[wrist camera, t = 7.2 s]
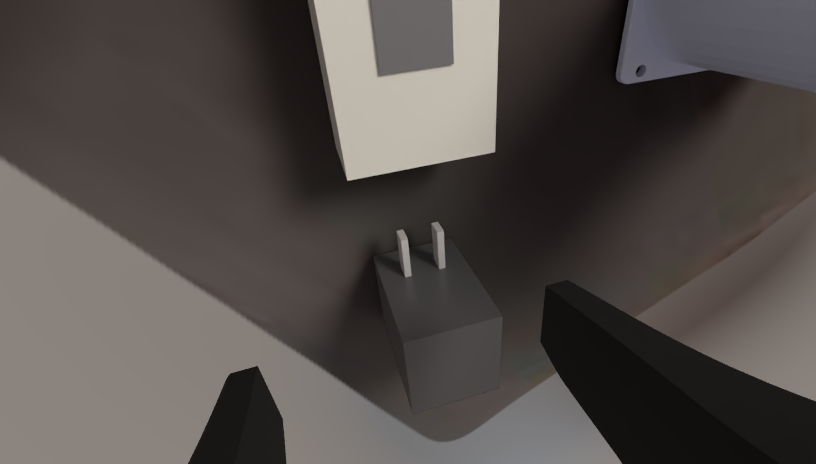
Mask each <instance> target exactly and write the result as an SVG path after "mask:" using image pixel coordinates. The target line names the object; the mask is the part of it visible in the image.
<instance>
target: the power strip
mask: <svg viewBox="0 0 816 464" xmlns="http://www.w3.org/2000/svg"><path fill="white" fill-rule="evenodd" d="M308 5H309V10H310V16H311V21H312V26H313V31H314V36H315V41H316V47H317V52H318V57H319V62H320V67H321V73H322V78H323V83H324V88H325V93H326V98H327V104H328V109H329V114H330V119H331V124H332V130H333V135H334V140H335V145H336V149H337V152H338V155H339V158H340V161H341V164H342V167H343V169H344V172H345V175H346V178H347V181H350V180H355V179H360V178H365V177H370V176H375V175H380V174H386V173H391V172H396V171H401V170H406V169H411V168H416V167H422V166H427V165H432V164H437V163H442V162H447V161H452V160H458V159H463V158H468V157H473V156H478V155H483V154H488V153H493V152H495V137H496V102H497V67H498V31H499V0H308Z"/></svg>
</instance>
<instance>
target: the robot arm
mask: <svg viewBox="0 0 816 464" xmlns="http://www.w3.org/2000/svg"><path fill="white" fill-rule="evenodd" d="M639 66H640V69H639V72H638V73H637V74H636V70H637V68H638V67H639ZM706 70H713V71H718V72H723V73H727V74H732V75H736V76H741V77H746V78H750V79H755V80H760V81H764V82H769V83H774V84H778V85H783V86H788V87H792V88H797V89H802V90H806V91H811V92H816V0H629V2H628V8H627V13H626V19H625V25H624V30H623V36H622V42H621V47H620V53H619V58H618V64H617V70H616V79H617V81H619V82H620V83H623V84H632V83H637V82H643V81H649V80H655V79H660V78H666V77H672V76H677V75H683V74H689V73H695V72H700V71H706ZM540 342H541V343H542V345H543V347H544V349H545V351H546V353H547V355H548V357H549V358H550V360H551V362H552V364H553V366H554V367H555V369H556V371H557V372H558V374H559V376H560V378H561V379H562V380H563V382H564V383H565V385H566V386H567V387H568V389H569V390H570V392H571V393H572V394H573V396H574V397H575V399H576V400H577V401H578V403H579V404H580V406H581V407H582V408H583V410H584V411H585V413H586V414H587V415H588V417H589V418H590V419H591V421H592V422H593V424H594V425H595V426H596V428H597V429H598V430H599V432H600V433H601V435H602V436H603V437H604V439H605V440H606V441H607V443H608V444H609V445H610V447H611V448H612V449H613V451H614V452H615V454H616V455H617V456H618V458H619V459H620V461H621V462H622V464H816V401H813V400H810V399H808V398H805V397H802V396H800V395H797V394H794V393H792V392H789V391H787V390H784V389H782V388H779V387H777V386H774V385H772V384H769V383H767V382H765V381H762V380H760V379H758V378H755V377H753V376H750V375H748V374H746V373H744V372H741V371H739V370H737V369H734V368H732V367H730V366H728V365H725V364H723V363H721V362H719V361H717V360H715V359H713V358H710V357H708V356H706V355H704V354H702V353H700V352H698V351H696V350H694V349H692V348H690V347H688V346H686V345H684V344H682V343H680V342H678V341H676V340H674V339H672V338H670V337H669V336H666V335H665V334H663V333H661V332H659V331H657V330H655V329H653V328H652V327H650V326H648V325H646V324H644V323H642V322H641V321H639V320H637V319H635V318H633V317H632V316H630V315H628V314H626V313H625V312H623V311H621V310H619V309H618V308H616V307H614V306H612V305H611V304H609V303H607V302H605V301H604V300H602V299H600V298H598V297H597V296H595V295H593V294H592V293H590V292H588V291H586V290H585V289H583V288H581V287H579V286H577V285H576V284H574V283H572V282H570V281H568V280H566V281H562V282H558V283H555V284H551V285H548V286H546V289H545V299H544V309H543V320H542V330H541V340H540ZM188 464H286V454H285V440H284V430H283V419H282V417H281V414H280V412H279V410H278V408H277V406H276V404H275V402H274V400H273V397H272V396H271V393H270V391H269V389H268V387H267V385H266V383H265V381H264V379H263V376H262V374H261V372H260V370H259V368H258V366H256V367H252V368H249V369H245V370H242V371H238V372H234V373H231V374H230V375H229V376H228V378H227V379H226V381H225V384H224V386H223V389H222V391H221V393H220V396H219V398H218V400H217V403H216V405H215V407H214V410H213V412H212V414H211V416H210V419H209V421H208V423H207V425H206V427H205V430H204V432H203V434H202V436H201V438H200V440H199V442H198V444H197V447H196V449H195V451H194V453H193V455H192V457H191V459H190V461H189V463H188Z"/></svg>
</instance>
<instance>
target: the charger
mask: <svg viewBox="0 0 816 464" xmlns="http://www.w3.org/2000/svg"><path fill="white" fill-rule="evenodd" d="M431 226H432V241H433V242H432V243H428V244H423V245H419V246H414V247H410V248H409V246H408V238H407V236H406V234H405V232H404V230H398V231H396V232H397V240H398V248H399V250H397V251H393V252H388V253H384V254H379V255H375V256H373V259H374V265H375V271H376V277H377V283H378V289H379V295H380V301H381V307H382V313H383V319H384V323H385V326H386V329H387V333H388V336H389V339H390V342H391V346H392V349H393V352H394V355H395V359H396V362H397V365H398V368H399V371H400V375H401V378H402V381H403V384H404V388H405V391H406V394H407V397H408V401H409V404H410V407H411V410H412V413H413V414H415V413H418V412H422V411H425V410H428V409H432V408H435V407H438V406H442V405H445V404H448V403H452V402H455V401H458V400H461V399H465V398H468V397H471V396H475V395H478V394H481V393H485V392H488V391H491V390H495V389H498V388H499V384H500V364H501V345H502V325H503V316H502V314H501V313H500V311H499V310H498V308H497V307H496V305H495V304H494V302H493V301H492V299H491V298H490V296H489V295H488V293H487V292H486V290H485V289H484V287H483V285H482V284H481V282H480V281H479V279H478V278H477V276H476V275H475V273H474V272H473V270H472V269H471V267H470V266H469V264H468V263H467V261H466V260H465V258H464V257H463V255H462V254H461V252H460V251H459V249H458V248H457V246H456V245H455V243H454V242H453V240H452V239H451V238H449V239H445V240H444V231H443V229H442V227H441V226H440V224H439V223H438V222H434V223H431Z"/></svg>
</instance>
